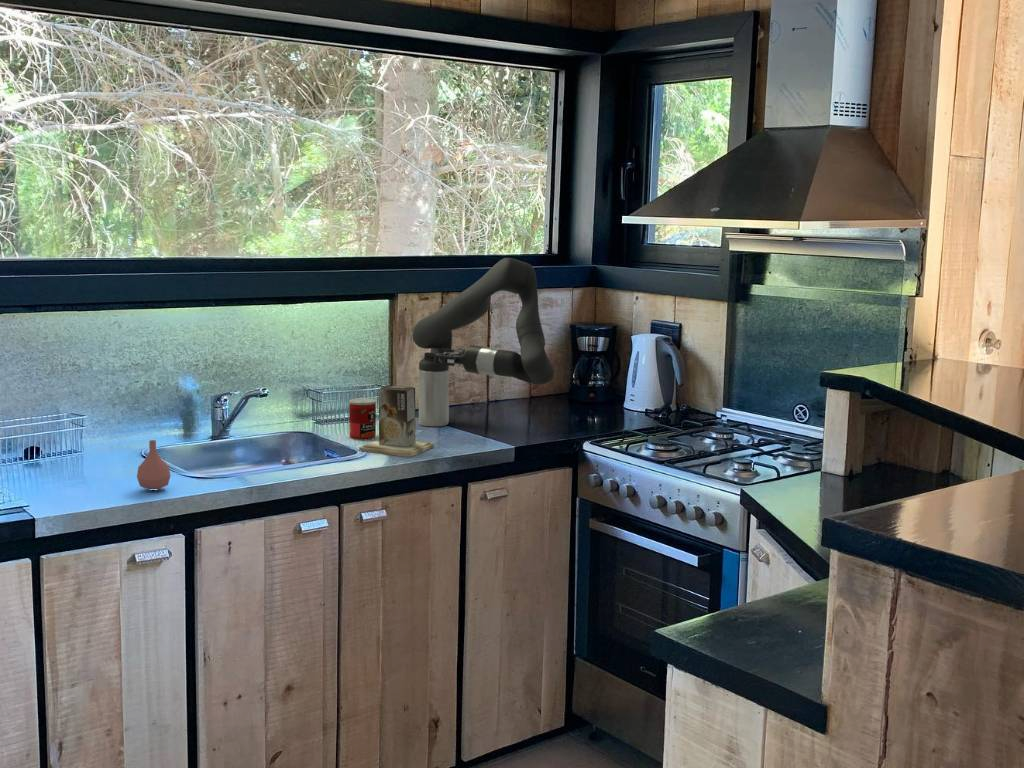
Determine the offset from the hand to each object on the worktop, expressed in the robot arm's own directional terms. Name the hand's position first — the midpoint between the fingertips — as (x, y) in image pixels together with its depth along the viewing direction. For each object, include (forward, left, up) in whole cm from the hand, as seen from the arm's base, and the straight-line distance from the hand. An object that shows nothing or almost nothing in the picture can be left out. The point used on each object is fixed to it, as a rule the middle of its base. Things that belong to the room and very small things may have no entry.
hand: (432, 354), depth 313 cm
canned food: (-3, -25, -27) cm, 37 cm away
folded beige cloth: (+6, -8, -27) cm, 29 cm away
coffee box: (+6, -8, -26) cm, 27 cm away
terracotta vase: (+72, -36, -27) cm, 85 cm away
